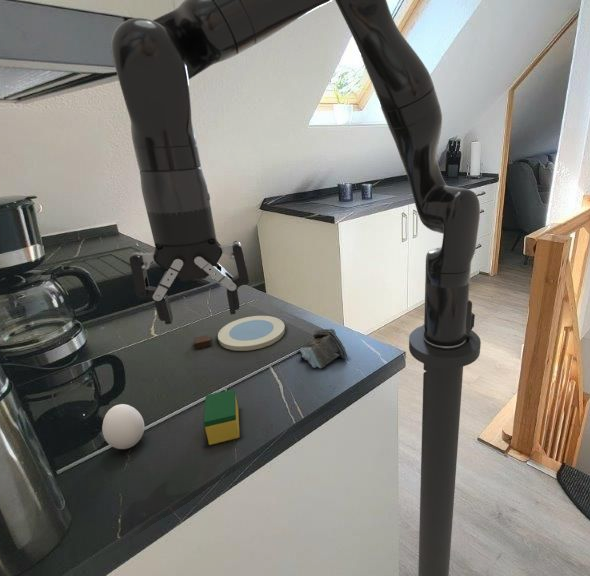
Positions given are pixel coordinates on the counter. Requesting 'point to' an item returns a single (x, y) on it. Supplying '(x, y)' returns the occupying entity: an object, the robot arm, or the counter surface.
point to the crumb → (202, 341)
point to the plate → (251, 333)
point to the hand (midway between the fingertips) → (202, 316)
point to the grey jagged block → (323, 348)
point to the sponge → (221, 417)
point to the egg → (122, 426)
